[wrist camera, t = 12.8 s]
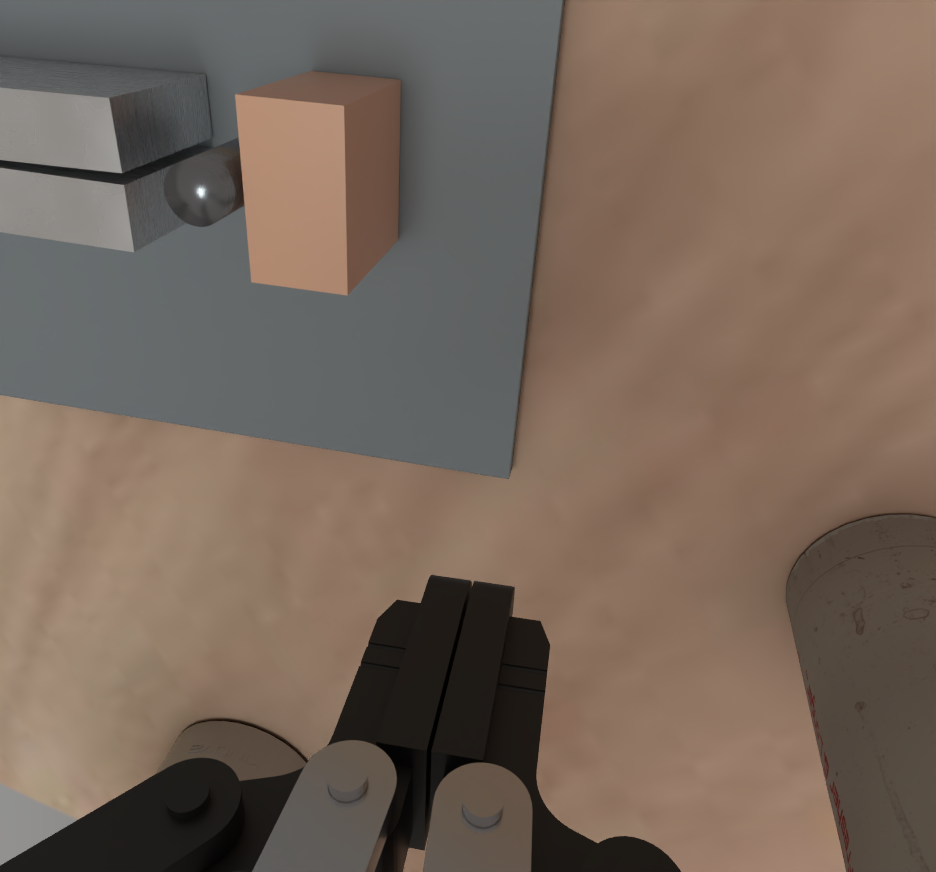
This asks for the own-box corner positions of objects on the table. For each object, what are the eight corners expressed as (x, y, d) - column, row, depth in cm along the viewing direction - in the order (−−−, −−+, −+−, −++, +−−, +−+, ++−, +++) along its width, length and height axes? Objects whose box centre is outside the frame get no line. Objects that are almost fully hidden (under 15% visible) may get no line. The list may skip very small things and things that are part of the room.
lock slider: (400, 79, 25) (344, 105, 20) (398, 240, 27) (347, 295, 23) (310, 70, 25) (234, 94, 21) (317, 230, 28) (251, 282, 23)
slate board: (511, 468, 33) (509, 479, 32) (-5, 384, 36) (-18, 392, 35) (578, -116, 22) (575, -119, 21) (-163, -163, 25) (-185, -166, 25)
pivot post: (306, 124, 26) (221, 164, 21) (308, 179, 27) (227, 230, 22) (255, 119, 26) (159, 157, 21) (259, 173, 27) (168, 223, 22)
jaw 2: (213, 148, 27) (124, 185, 22) (218, 205, 28) (134, 252, 24) (-106, 105, 29) (-251, 132, 24) (-90, 162, 30) (-225, 197, 25)
